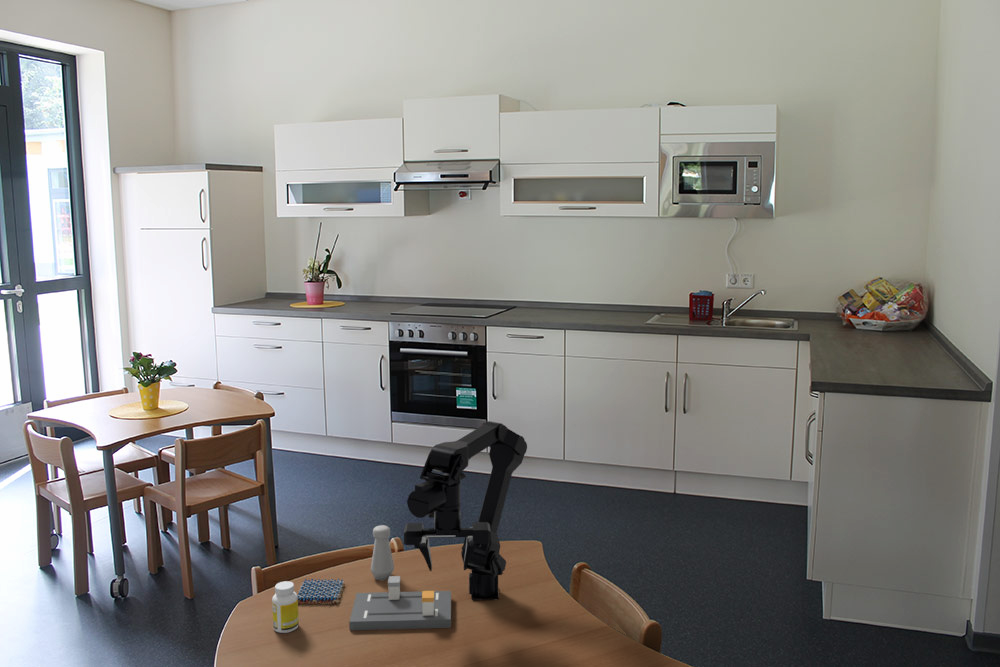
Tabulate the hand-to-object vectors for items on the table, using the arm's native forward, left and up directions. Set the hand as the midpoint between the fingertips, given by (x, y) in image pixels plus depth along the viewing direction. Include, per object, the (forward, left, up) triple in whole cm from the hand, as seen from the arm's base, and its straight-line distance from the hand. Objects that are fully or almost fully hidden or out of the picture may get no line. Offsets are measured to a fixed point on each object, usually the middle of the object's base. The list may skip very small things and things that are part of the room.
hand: (447, 569), depth 177 cm
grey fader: (+12, -7, -10) cm, 17 cm away
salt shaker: (+16, -22, -12) cm, 30 cm away
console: (+10, -3, -12) cm, 16 cm away
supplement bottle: (+35, +1, -12) cm, 37 cm away
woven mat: (+30, -14, -13) cm, 36 cm away
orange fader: (+4, 0, -10) cm, 11 cm away
